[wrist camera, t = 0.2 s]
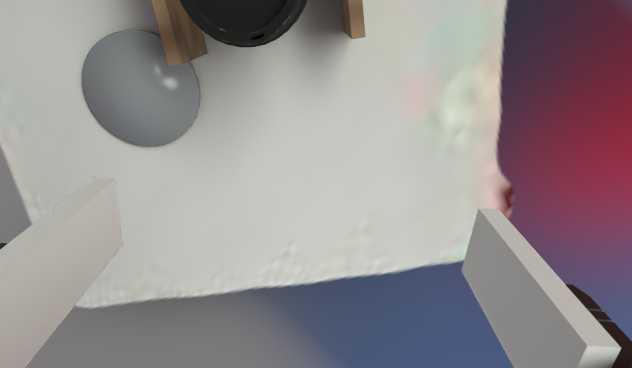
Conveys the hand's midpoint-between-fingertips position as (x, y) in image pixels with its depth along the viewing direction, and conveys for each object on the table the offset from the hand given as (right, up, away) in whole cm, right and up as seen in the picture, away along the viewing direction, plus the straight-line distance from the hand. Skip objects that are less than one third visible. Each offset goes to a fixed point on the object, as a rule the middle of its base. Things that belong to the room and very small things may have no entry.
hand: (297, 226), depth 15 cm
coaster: (-16, +11, +25) cm, 32 cm away
